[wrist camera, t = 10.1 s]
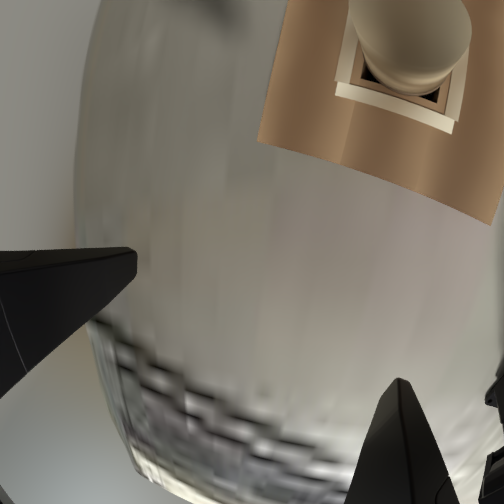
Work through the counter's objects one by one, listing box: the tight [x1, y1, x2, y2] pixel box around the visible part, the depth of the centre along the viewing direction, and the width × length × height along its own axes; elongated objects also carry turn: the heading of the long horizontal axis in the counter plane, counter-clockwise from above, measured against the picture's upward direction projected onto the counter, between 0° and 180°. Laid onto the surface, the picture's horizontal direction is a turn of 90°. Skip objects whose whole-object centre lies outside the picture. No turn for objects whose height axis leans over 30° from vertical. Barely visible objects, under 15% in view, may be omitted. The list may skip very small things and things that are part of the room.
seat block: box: [257, 0, 504, 226], centre depth 12 cm, size 14×14×3 cm
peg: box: [349, 0, 472, 96], centre depth 10 cm, size 5×5×8 cm
